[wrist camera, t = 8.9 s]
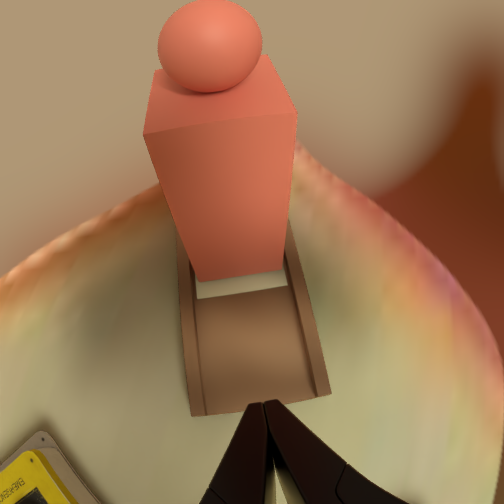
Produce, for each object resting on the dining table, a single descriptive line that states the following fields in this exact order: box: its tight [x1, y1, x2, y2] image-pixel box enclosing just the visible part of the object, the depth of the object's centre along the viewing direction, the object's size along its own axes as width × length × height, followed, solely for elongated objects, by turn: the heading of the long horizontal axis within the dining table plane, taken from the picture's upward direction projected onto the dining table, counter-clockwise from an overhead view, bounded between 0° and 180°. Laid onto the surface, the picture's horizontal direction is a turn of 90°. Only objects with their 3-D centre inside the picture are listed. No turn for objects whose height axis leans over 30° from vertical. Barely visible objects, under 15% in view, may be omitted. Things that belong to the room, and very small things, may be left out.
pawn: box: [143, 0, 297, 282], centre depth 14 cm, size 5×5×15 cm
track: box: [176, 219, 332, 417], centre depth 19 cm, size 14×8×2 cm, turn 9°
